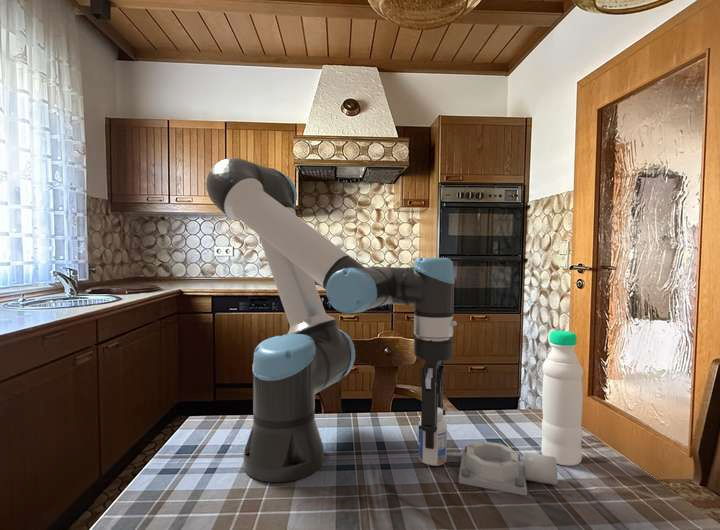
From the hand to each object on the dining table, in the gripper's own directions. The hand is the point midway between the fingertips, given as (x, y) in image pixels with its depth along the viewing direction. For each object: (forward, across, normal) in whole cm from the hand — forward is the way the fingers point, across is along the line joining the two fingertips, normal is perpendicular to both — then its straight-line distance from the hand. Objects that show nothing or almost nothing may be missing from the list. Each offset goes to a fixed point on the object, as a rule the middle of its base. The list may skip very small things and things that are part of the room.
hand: (432, 455), depth 75 cm
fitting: (+1, -1, -14) cm, 14 cm away
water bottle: (+1, +9, -24) cm, 26 cm away
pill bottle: (+1, 0, 0) cm, 1 cm away
